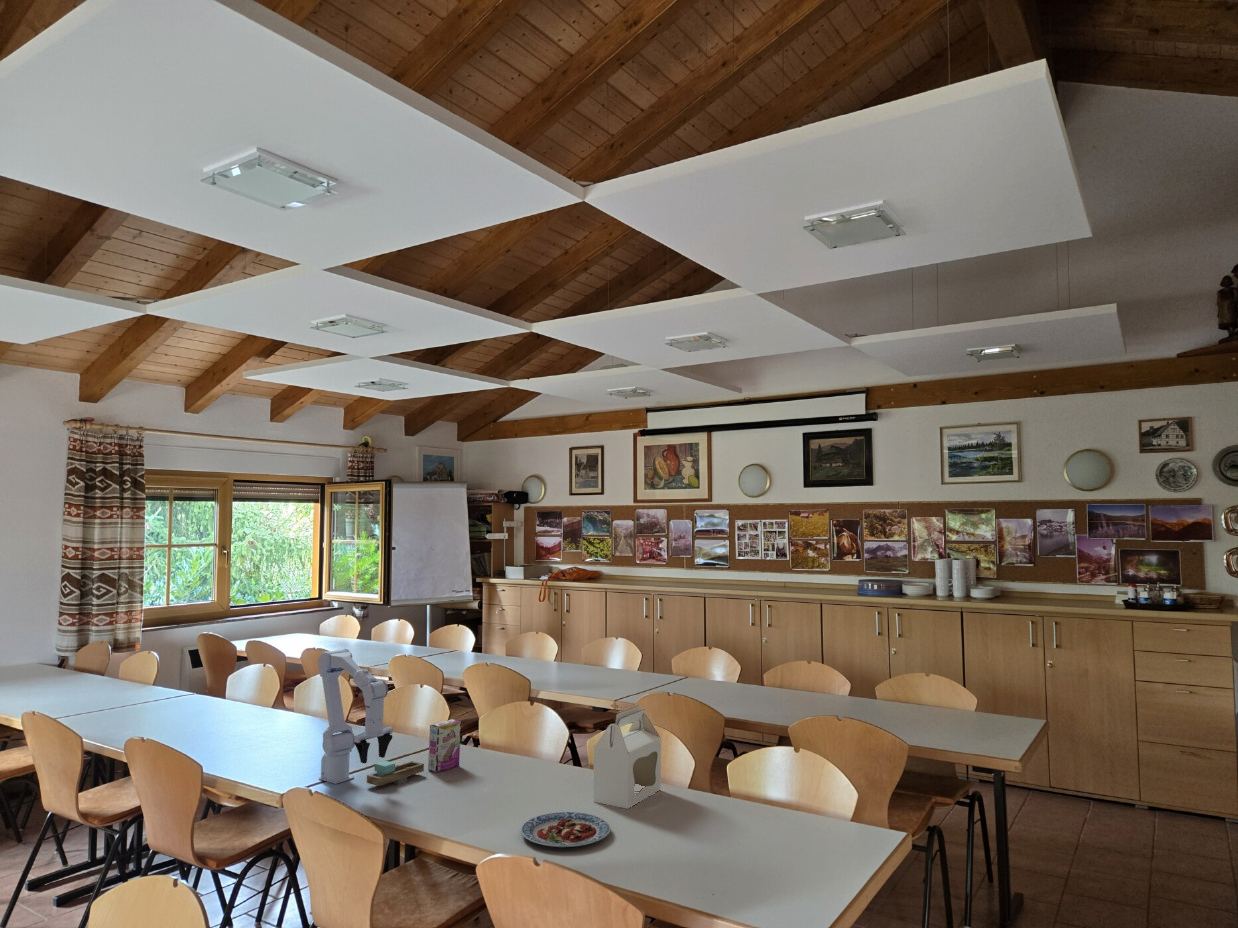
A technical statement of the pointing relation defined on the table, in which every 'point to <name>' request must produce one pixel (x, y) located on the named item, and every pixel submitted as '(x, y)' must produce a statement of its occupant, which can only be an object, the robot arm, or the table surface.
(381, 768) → the block
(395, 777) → the wooden tray
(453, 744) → the candy bar box
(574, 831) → the ceramic plate
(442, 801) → the table surface
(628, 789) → the gable box
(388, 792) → the table surface
